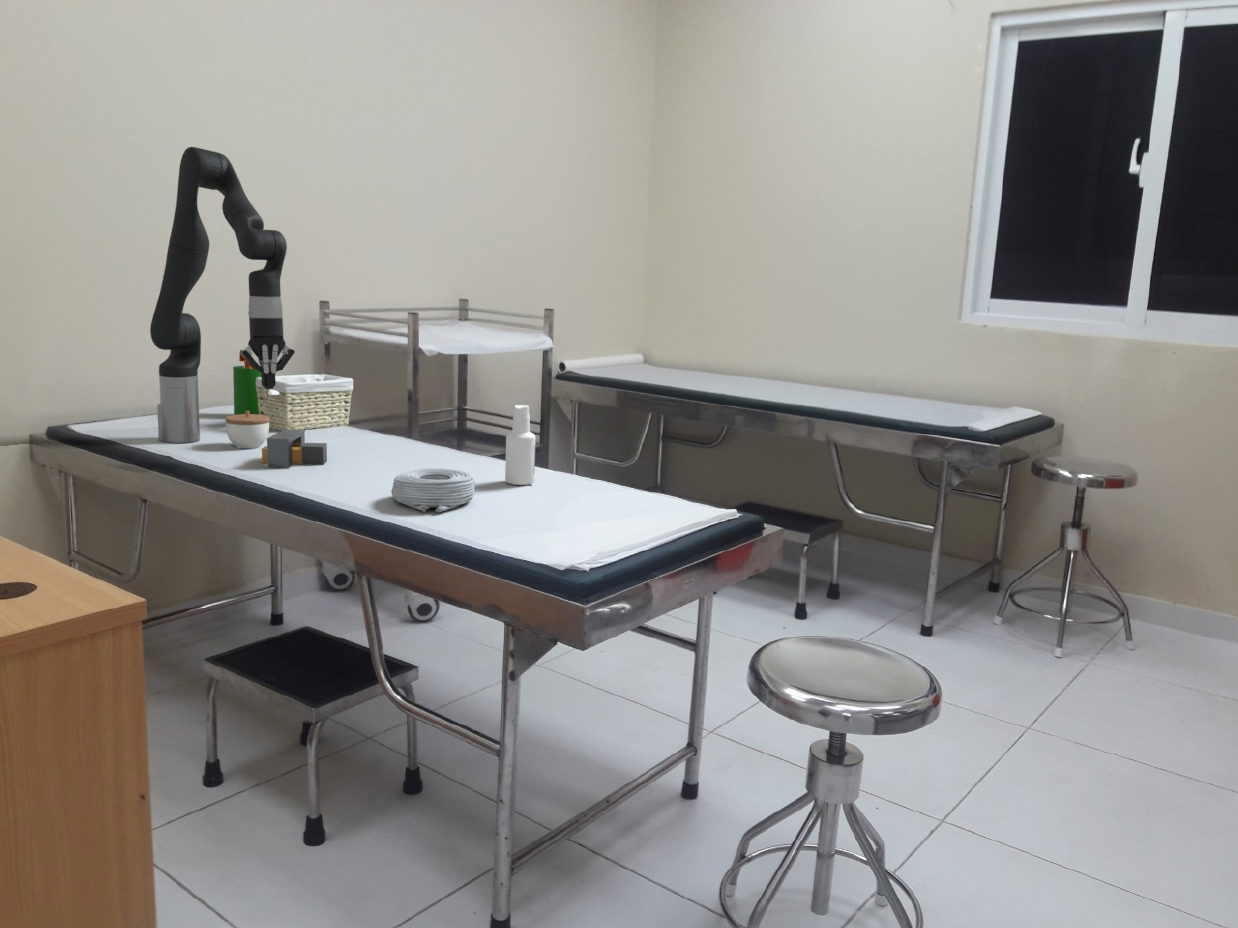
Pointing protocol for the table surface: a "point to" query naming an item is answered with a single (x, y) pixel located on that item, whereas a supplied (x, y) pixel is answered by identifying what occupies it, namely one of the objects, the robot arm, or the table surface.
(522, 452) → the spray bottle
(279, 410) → the storage basket
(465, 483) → the cable
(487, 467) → the table surface
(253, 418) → the lidded jar
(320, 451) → the plug
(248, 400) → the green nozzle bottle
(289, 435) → the housing
